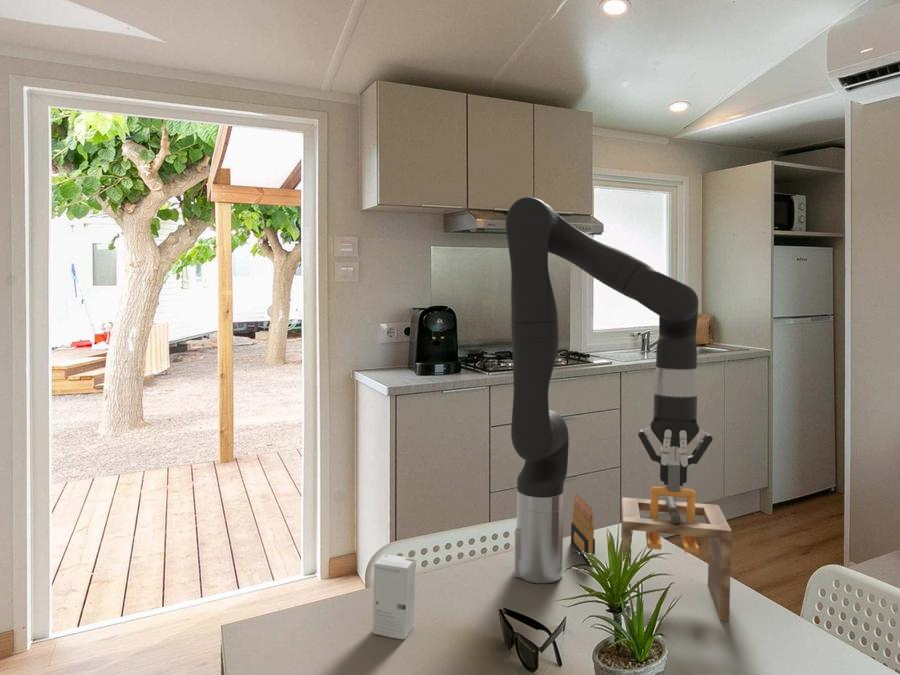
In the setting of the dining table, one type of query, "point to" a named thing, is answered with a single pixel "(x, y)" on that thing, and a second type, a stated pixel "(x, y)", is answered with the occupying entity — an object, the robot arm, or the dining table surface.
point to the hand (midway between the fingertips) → (673, 484)
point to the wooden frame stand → (713, 529)
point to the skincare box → (394, 596)
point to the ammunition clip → (582, 528)
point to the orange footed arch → (673, 491)
